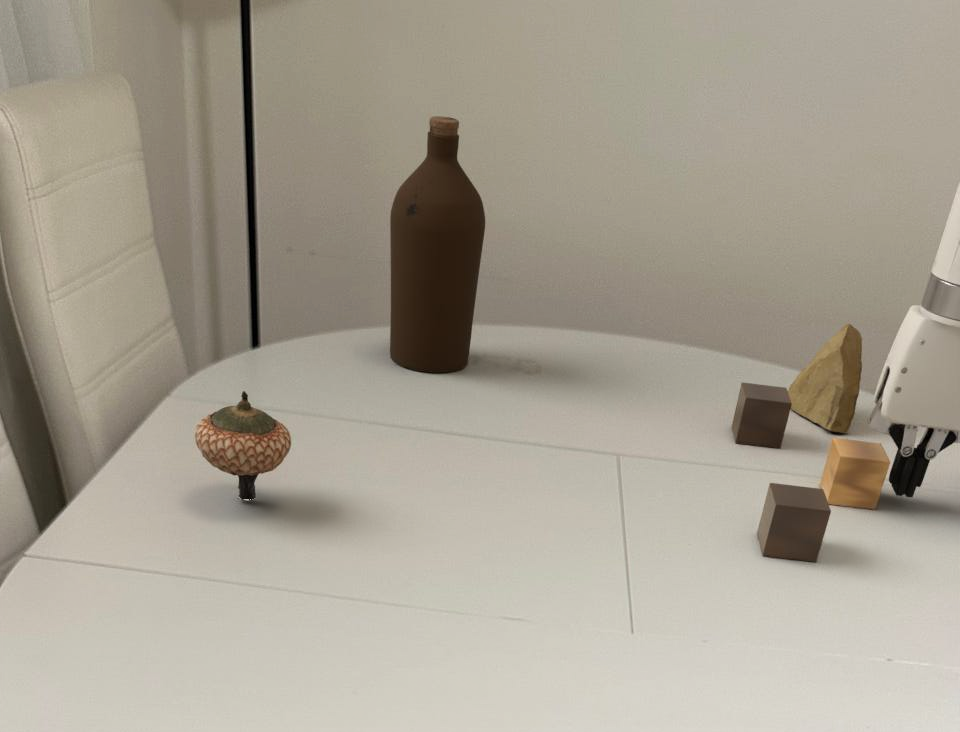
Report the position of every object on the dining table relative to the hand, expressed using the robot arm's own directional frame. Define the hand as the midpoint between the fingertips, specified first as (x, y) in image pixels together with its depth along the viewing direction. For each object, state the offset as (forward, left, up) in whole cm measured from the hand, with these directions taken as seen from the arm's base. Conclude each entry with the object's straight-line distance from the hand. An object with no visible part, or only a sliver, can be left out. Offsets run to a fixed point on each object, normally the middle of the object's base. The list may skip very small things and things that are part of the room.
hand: (901, 491), depth 123 cm
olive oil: (+51, -27, -2) cm, 58 cm away
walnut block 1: (+13, -14, -1) cm, 19 cm away
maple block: (+5, 0, -1) cm, 5 cm away
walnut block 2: (+13, +14, -1) cm, 19 cm away
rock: (+5, -23, -2) cm, 24 cm away
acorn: (+63, +18, -2) cm, 66 cm away
